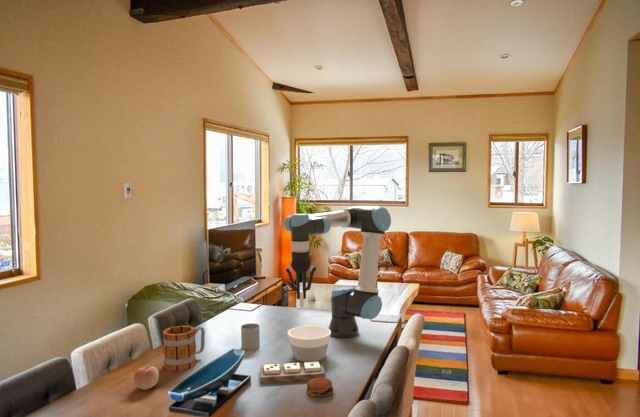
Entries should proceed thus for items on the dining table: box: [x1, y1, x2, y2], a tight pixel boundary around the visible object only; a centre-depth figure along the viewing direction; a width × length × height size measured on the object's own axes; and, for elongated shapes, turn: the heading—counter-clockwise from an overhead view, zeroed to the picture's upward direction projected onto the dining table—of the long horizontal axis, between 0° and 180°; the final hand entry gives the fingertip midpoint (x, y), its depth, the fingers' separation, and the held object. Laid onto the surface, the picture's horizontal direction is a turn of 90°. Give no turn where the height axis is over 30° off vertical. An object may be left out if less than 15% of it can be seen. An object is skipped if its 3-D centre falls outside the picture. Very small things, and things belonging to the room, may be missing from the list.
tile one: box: [303, 361, 321, 372], centre depth 193 cm, size 6×6×4 cm
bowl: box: [286, 324, 331, 363], centre depth 212 cm, size 19×19×11 cm
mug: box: [162, 325, 206, 372], centre depth 206 cm, size 20×14×15 cm
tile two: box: [283, 362, 300, 373], centre depth 192 cm, size 6×6×4 cm
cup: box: [240, 323, 261, 351], centre depth 224 cm, size 8×8×10 cm
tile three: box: [263, 363, 280, 374], centre depth 191 cm, size 6×6×4 cm
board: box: [259, 361, 326, 385], centre depth 192 cm, size 25×12×2 cm, turn 97°
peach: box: [133, 365, 160, 391], centre depth 182 cm, size 9×9×8 cm
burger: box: [306, 377, 334, 397], centre depth 176 cm, size 10×9×5 cm
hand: (301, 306), depth 203 cm, fingers closed
